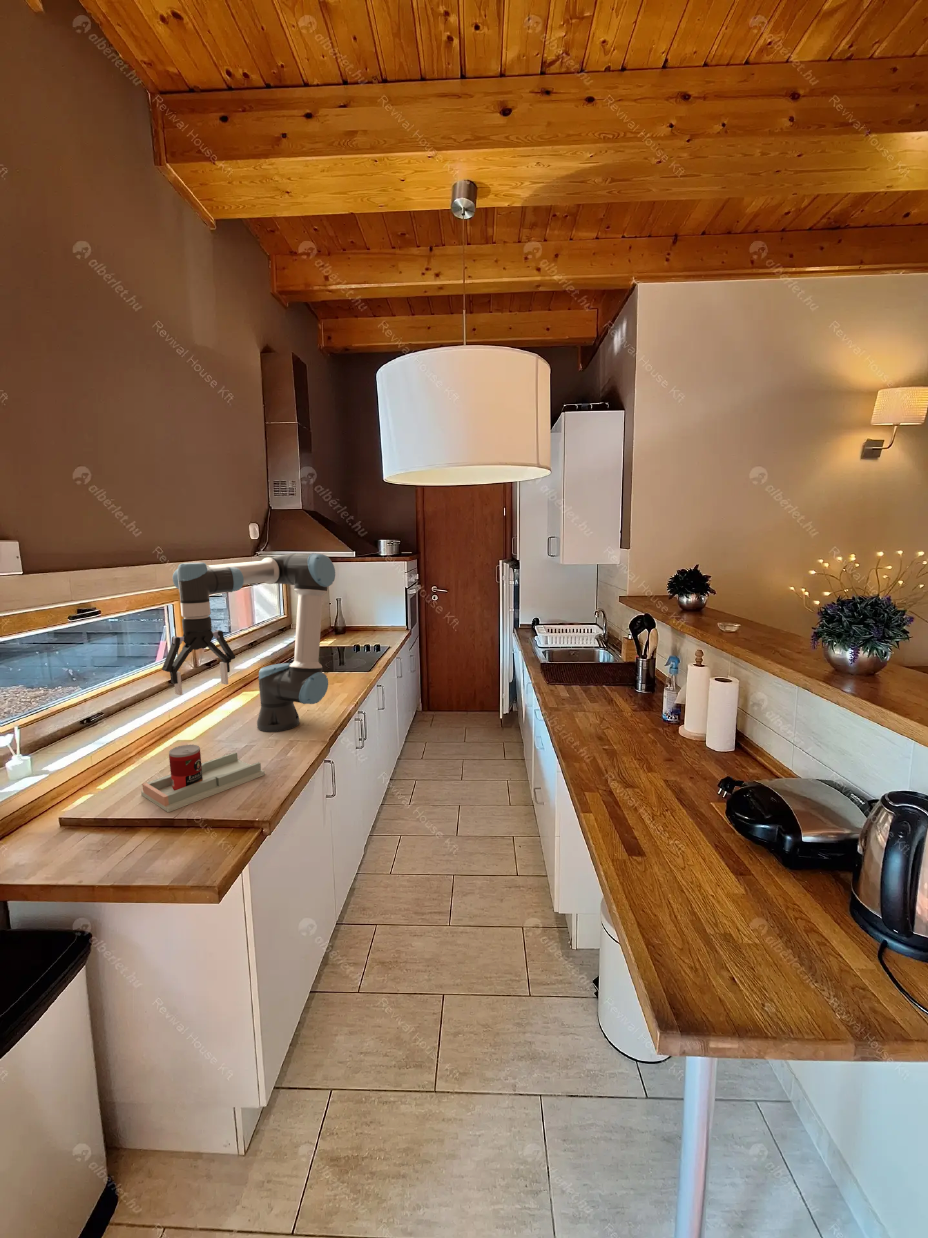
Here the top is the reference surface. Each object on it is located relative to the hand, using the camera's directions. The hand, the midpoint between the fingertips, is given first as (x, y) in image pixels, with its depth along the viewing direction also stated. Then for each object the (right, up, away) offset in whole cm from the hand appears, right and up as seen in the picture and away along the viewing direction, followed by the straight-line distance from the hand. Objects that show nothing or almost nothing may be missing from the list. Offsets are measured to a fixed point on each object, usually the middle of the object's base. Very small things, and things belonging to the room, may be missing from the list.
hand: (202, 688), depth 161 cm
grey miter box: (+2, -27, -2) cm, 27 cm away
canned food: (-1, -27, -6) cm, 28 cm away
